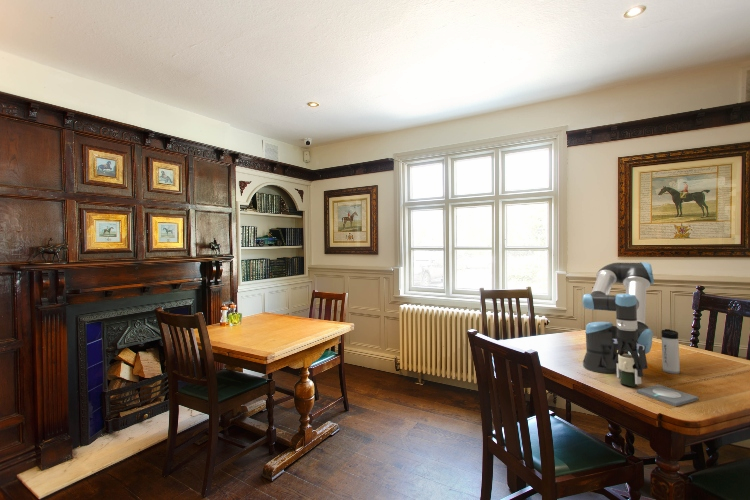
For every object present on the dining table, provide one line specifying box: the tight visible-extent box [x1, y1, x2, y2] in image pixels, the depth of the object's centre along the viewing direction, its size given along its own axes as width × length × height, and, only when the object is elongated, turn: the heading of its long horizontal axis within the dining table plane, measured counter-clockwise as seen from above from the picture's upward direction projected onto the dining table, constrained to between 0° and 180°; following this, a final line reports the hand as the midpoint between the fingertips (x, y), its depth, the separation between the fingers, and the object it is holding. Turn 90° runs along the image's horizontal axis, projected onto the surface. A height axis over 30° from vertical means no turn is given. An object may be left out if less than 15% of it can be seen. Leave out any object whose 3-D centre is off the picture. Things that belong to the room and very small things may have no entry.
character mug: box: [618, 353, 639, 388], centre depth 151 cm, size 11×7×13 cm, turn 130°
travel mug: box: [660, 328, 681, 375], centre depth 165 cm, size 6×7×20 cm
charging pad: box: [636, 384, 699, 407], centre depth 139 cm, size 14×14×2 cm
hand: (628, 380), depth 151 cm, fingers closed on character mug, 7 cm apart
